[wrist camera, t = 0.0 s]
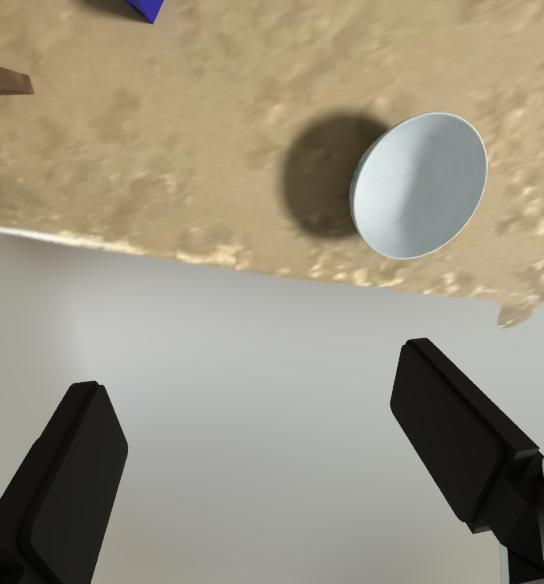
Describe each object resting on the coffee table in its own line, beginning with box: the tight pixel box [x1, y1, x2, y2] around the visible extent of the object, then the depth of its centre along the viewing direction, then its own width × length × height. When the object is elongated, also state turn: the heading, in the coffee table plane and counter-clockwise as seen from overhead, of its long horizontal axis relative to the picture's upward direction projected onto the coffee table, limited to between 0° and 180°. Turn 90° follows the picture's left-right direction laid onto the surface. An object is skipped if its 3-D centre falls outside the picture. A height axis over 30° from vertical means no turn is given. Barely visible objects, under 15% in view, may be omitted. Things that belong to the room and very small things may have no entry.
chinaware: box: [349, 112, 488, 259], centre depth 36 cm, size 15×15×8 cm
